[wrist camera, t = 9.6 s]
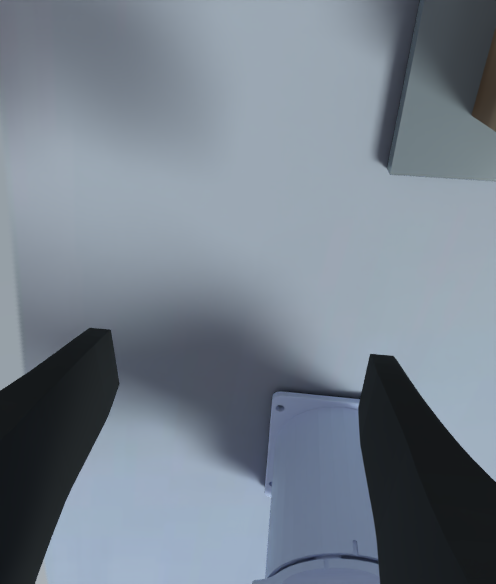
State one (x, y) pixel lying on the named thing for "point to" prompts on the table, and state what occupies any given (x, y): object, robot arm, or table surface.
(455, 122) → the slate coaster
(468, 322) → the table surface
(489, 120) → the walnut cube
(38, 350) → the table surface
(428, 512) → the robot arm
